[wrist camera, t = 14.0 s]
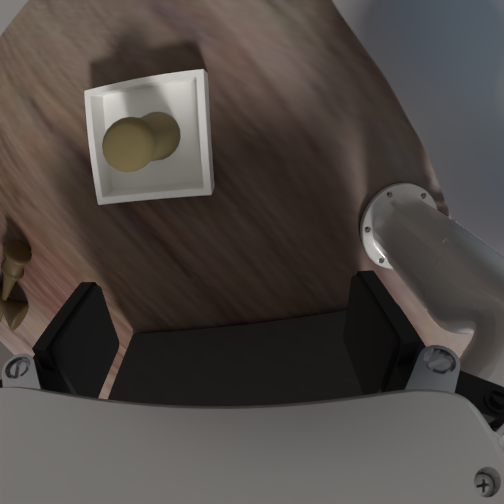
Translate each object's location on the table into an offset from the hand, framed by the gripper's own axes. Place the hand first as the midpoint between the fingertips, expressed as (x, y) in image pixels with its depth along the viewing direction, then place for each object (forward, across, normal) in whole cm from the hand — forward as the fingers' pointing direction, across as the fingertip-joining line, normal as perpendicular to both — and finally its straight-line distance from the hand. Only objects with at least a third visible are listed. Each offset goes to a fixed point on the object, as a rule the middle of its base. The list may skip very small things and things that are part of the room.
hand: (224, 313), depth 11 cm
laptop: (+29, -1, +36) cm, 46 cm away
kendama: (+29, +42, +15) cm, 53 cm away
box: (+28, +10, -5) cm, 30 cm away
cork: (+28, +10, -5) cm, 30 cm away
